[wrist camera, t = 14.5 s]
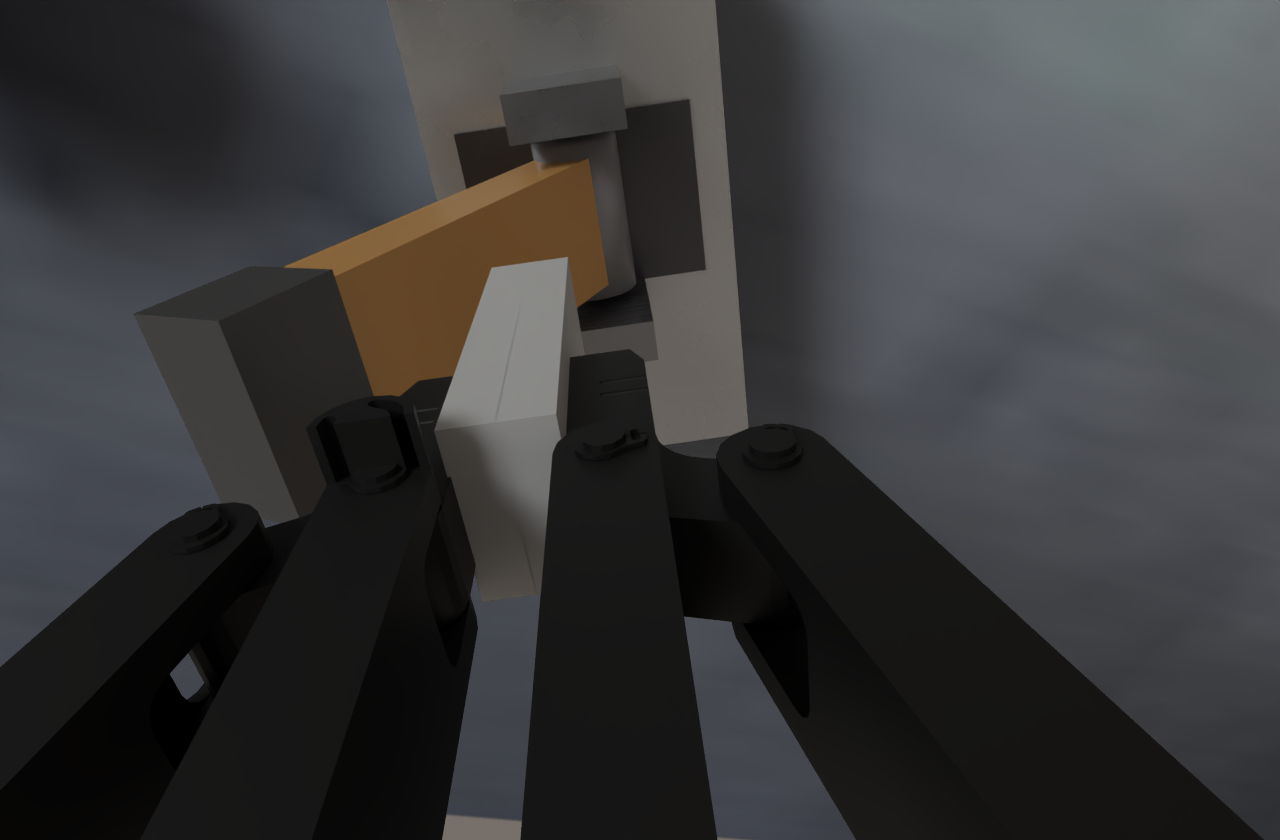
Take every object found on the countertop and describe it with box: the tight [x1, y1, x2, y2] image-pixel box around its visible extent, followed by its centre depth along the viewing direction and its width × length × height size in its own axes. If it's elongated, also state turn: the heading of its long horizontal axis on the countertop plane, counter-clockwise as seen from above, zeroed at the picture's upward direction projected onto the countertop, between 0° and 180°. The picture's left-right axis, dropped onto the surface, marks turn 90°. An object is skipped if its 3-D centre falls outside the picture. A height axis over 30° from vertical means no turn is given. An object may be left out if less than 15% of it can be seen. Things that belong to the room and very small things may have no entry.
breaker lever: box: [134, 131, 636, 523], centre depth 19 cm, size 2×4×14 cm, turn 7°
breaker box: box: [386, 0, 748, 445], centre depth 26 cm, size 9×18×10 cm, turn 8°
